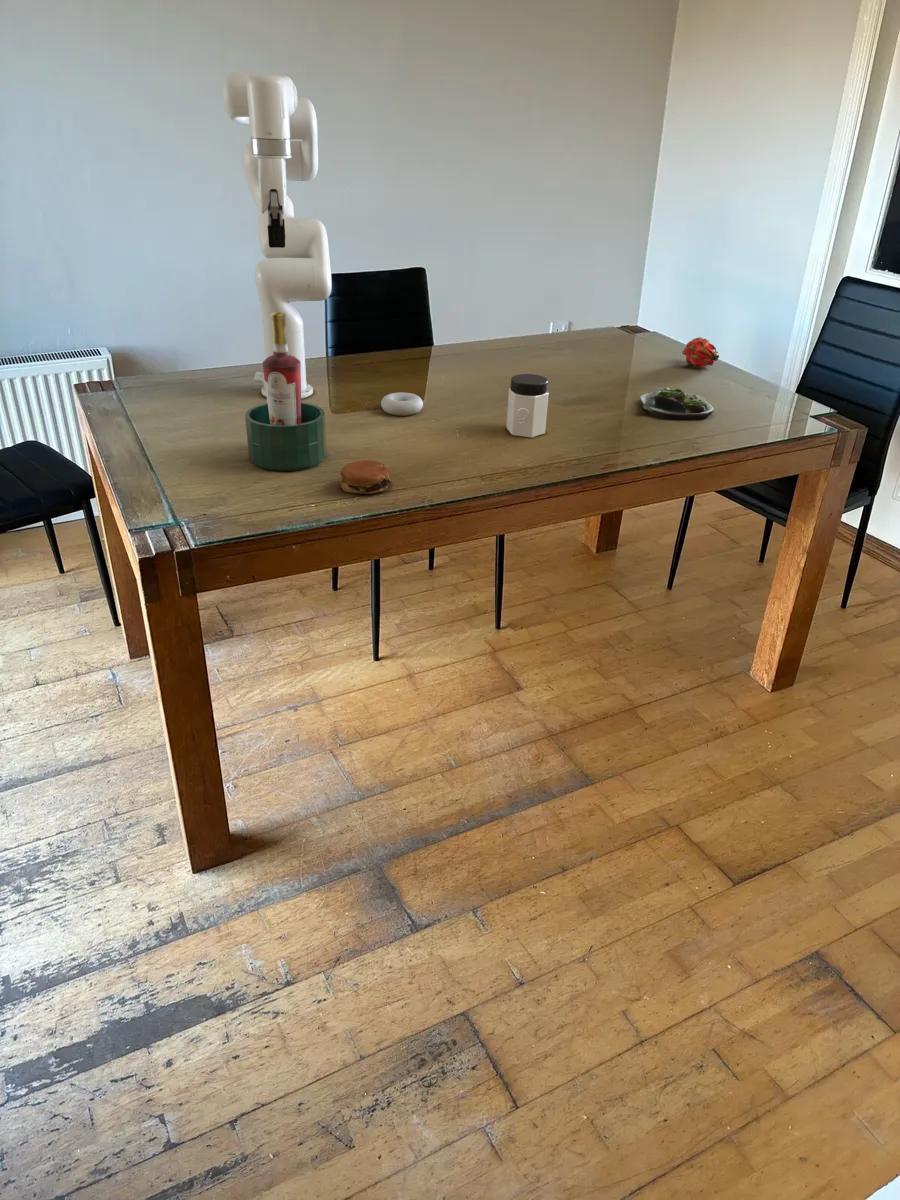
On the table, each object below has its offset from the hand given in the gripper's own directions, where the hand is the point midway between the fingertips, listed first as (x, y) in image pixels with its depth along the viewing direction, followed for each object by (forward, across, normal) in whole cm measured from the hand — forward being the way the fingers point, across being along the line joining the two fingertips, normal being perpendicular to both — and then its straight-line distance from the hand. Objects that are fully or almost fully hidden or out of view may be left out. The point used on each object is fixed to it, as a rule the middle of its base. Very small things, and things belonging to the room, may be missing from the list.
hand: (277, 243), depth 177 cm
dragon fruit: (+38, -41, +116) cm, 129 cm away
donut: (+38, -8, +26) cm, 47 cm away
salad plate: (+38, -4, +93) cm, 101 cm away
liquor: (+38, +20, 0) cm, 43 cm away
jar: (+38, +8, +53) cm, 66 cm away
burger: (+38, +37, +14) cm, 55 cm away
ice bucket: (+38, +21, 0) cm, 43 cm away
